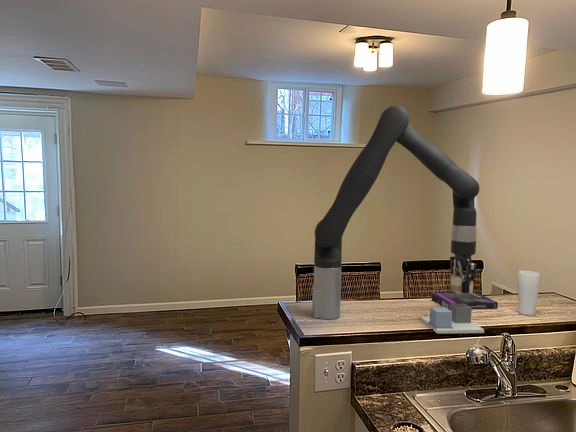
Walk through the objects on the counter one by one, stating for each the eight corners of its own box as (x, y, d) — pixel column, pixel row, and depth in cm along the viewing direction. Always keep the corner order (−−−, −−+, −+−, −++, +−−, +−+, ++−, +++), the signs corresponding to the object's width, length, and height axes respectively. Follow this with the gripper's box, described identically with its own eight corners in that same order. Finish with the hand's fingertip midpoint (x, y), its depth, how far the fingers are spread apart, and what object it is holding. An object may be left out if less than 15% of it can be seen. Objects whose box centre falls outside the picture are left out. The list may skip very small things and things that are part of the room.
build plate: (437, 333, 136) (437, 314, 136) (419, 319, 150) (420, 301, 150) (484, 332, 138) (485, 313, 137) (462, 318, 152) (463, 301, 151)
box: (447, 312, 162) (498, 310, 164) (448, 303, 162) (498, 301, 164) (431, 301, 176) (477, 299, 178) (431, 292, 176) (478, 291, 178)
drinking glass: (536, 312, 160) (539, 271, 159) (538, 317, 154) (540, 275, 153) (515, 310, 163) (517, 269, 162) (516, 315, 157) (518, 273, 156)
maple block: (457, 294, 143) (458, 278, 142) (450, 290, 148) (451, 275, 147) (472, 294, 143) (473, 278, 143) (465, 290, 148) (465, 275, 148)
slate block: (436, 327, 138) (436, 312, 138) (429, 322, 143) (430, 307, 143) (451, 327, 139) (452, 311, 138) (444, 322, 144) (445, 307, 143)
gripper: (442, 236, 151) (440, 285, 152) (462, 242, 137) (460, 296, 138) (464, 236, 152) (462, 285, 153) (486, 242, 137) (483, 296, 139)
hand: (461, 290), depth 145 cm, fingers closed on maple block, 5 cm apart
